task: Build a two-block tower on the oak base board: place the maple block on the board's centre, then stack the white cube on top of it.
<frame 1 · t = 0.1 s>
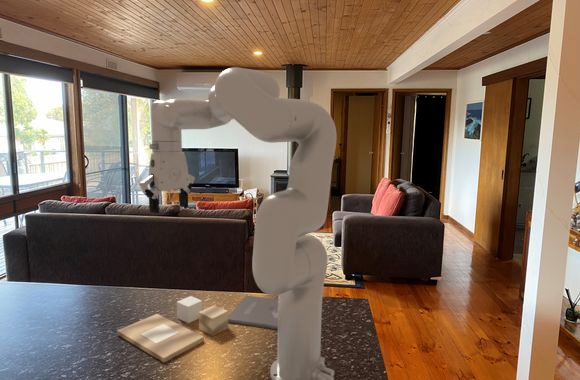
hand: (169, 209, 112), 31 cm above the kitchen counter, tool pointing down, fingers open, 9 cm apart
white cube: (189, 317, 116), on the kitchen counter
base board: (160, 337, 104), on the kitchen counter
maple block: (213, 328, 110), on the kitchen counter
play button award: (268, 315, 119), on the kitchen counter
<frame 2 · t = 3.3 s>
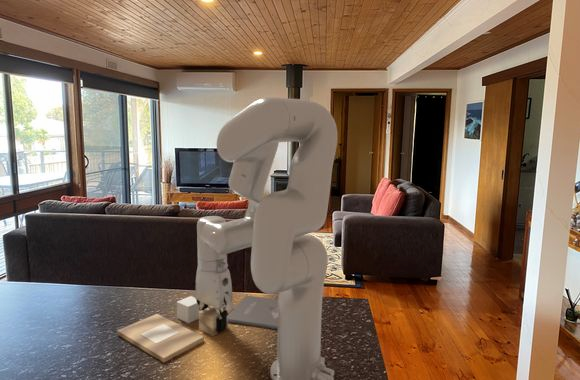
hand: (213, 326, 109), 1 cm above the kitchen counter, tool pointing down, fingers closed on maple block, 5 cm apart
maple block: (213, 328, 110), on the kitchen counter, touching gripper
everything else where it was.
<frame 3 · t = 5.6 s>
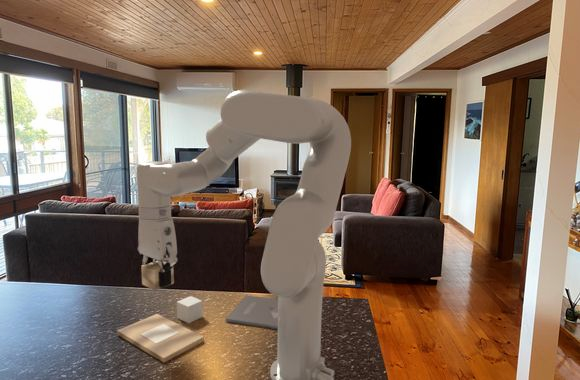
hand: (157, 281, 102), 15 cm above the kitchen counter, tool pointing down, fingers closed on maple block, 5 cm apart
maple block: (158, 283, 102), point 15 cm above the kitchen counter, touching gripper
everything else where it was.
when the fingers open (3 cm above the kitchen counter, at t = 8.2 s): maple block drops 1 cm, resting on base board.
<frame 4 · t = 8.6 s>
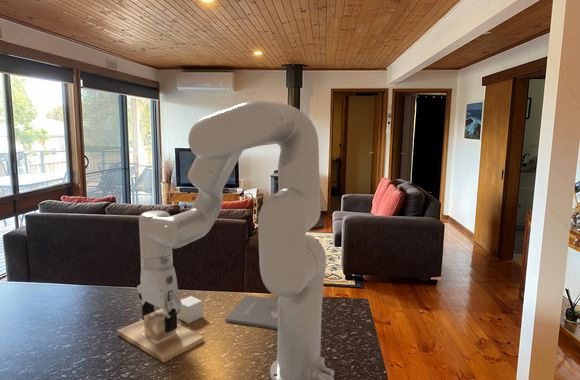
hand: (159, 324, 104), 4 cm above the kitchen counter, tool pointing down, fingers open, 9 cm apart
maple block: (160, 333, 104), point 1 cm above the kitchen counter, touching base board
everything else where it was.
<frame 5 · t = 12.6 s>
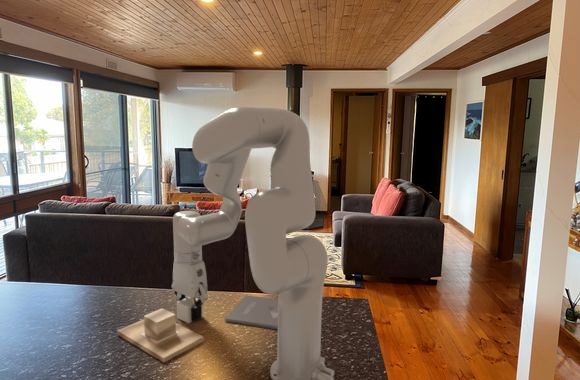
hand: (189, 315, 115), 0 cm above the kitchen counter, tool pointing down, fingers closed on white cube, 5 cm apart
white cube: (189, 317, 116), on the kitchen counter, touching gripper
everything else where it was.
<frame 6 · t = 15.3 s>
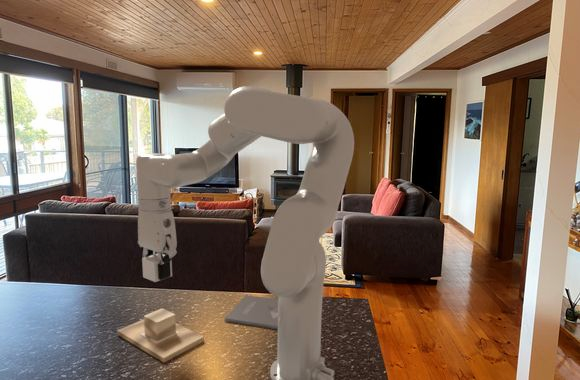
hand: (157, 274, 102), 17 cm above the kitchen counter, tool pointing down, fingers closed on white cube, 5 cm apart
white cube: (157, 276, 102), point 17 cm above the kitchen counter, touching gripper
everything else where it was.
when the fingers open (8 cm above the kitchen counter, at t = 17.8 s): white cube drops 1 cm, resting on maple block.
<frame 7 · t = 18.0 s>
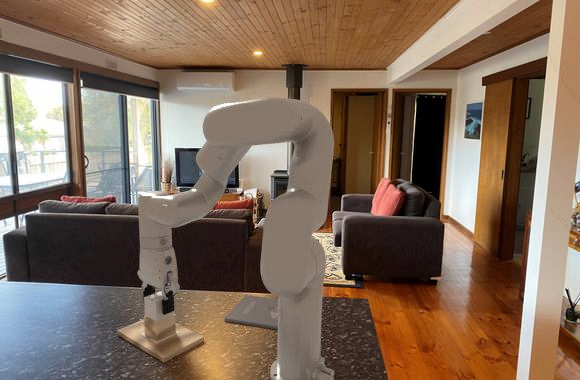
hand: (158, 307, 103), 8 cm above the kitchen counter, tool pointing down, fingers open, 7 cm apart
white cube: (159, 315, 103), point 6 cm above the kitchen counter, touching maple block
maple block: (160, 333, 104), point 1 cm above the kitchen counter, touching base board, white cube
everything else where it was.
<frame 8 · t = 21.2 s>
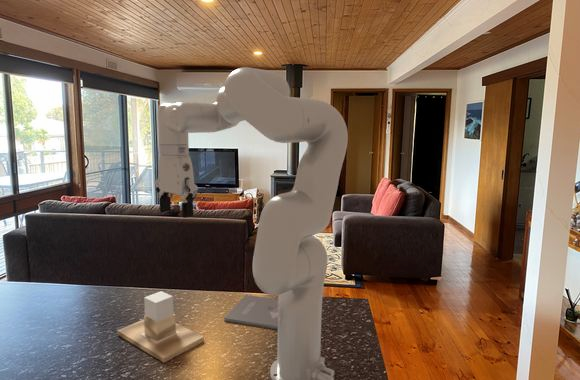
hand: (176, 214, 110), 30 cm above the kitchen counter, tool pointing down, fingers open, 9 cm apart
nothing on the kitchen counter moved.
at the end: maple block inside the target area on the base board (0.1 cm from its centre), point 1.3 cm above the base board's base; white cube 0.1 cm from the maple block (horizontally); white cube point 6.3 cm above the kitchen counter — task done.
